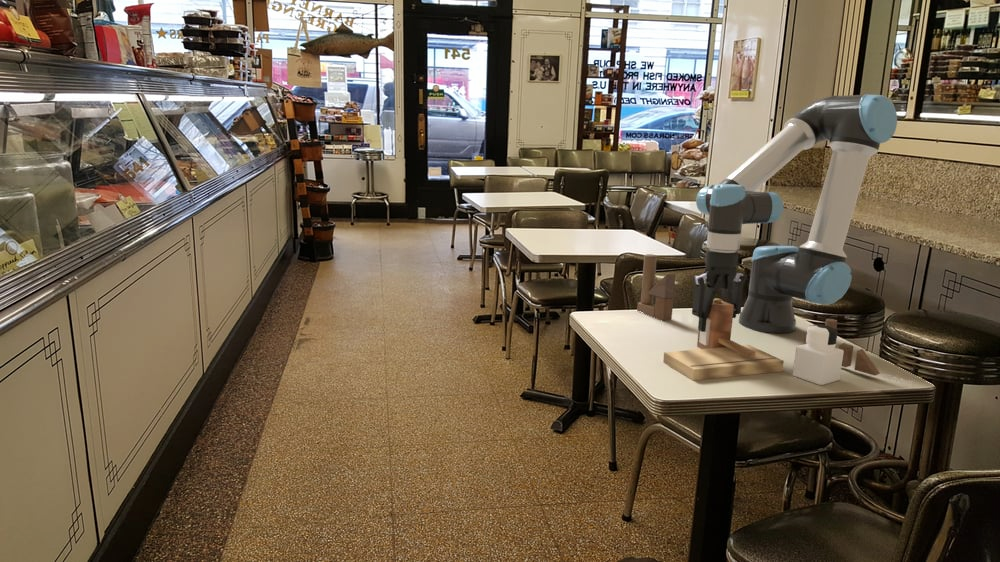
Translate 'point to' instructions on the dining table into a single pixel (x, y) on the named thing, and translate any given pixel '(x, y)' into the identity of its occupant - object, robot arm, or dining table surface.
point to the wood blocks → (861, 358)
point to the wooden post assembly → (656, 291)
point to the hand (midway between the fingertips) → (713, 342)
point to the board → (721, 362)
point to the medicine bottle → (819, 356)
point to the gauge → (722, 329)
